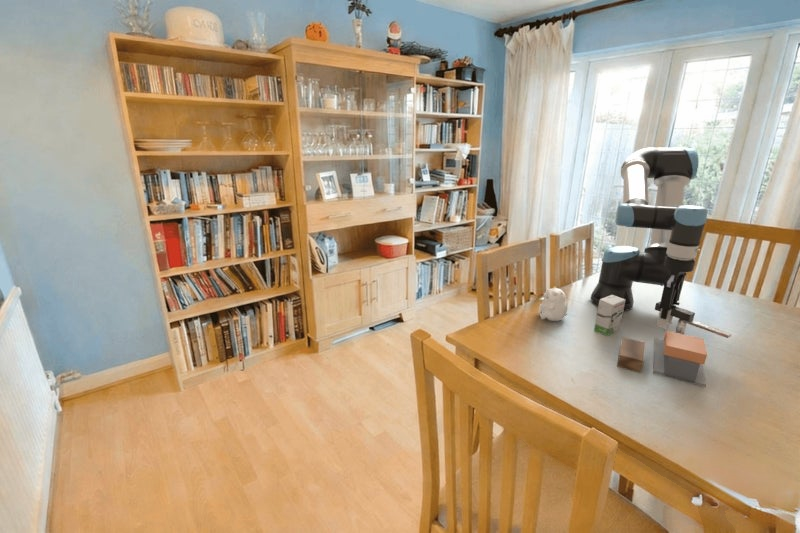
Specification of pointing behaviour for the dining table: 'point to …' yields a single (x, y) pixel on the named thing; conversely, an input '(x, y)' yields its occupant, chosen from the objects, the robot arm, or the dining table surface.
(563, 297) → the figurine
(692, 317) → the grey t-shaped piece
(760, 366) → the dining table surface
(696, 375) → the block
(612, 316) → the ink box
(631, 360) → the brown wooden block
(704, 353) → the cover
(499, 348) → the dining table surface
